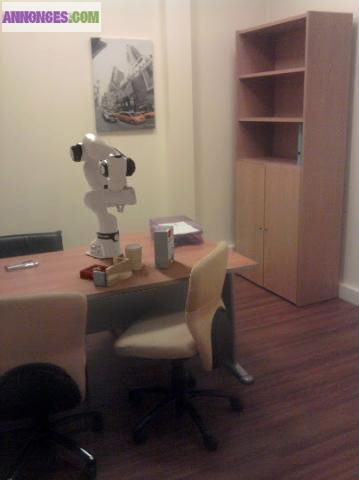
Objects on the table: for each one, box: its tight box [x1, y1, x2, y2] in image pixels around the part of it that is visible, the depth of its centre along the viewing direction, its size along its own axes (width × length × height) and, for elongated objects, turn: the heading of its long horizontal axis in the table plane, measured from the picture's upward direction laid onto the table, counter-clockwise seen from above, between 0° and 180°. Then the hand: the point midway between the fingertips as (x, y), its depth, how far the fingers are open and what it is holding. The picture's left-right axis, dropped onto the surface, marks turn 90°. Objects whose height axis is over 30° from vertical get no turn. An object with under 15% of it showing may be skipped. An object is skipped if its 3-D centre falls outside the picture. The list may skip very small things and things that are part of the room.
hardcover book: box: [79, 263, 109, 281], centre depth 235 cm, size 12×21×4 cm, turn 57°
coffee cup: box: [124, 243, 143, 271], centre depth 246 cm, size 9×9×12 cm
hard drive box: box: [153, 224, 175, 269], centre depth 250 cm, size 16×8×20 cm, turn 168°
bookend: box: [93, 271, 108, 288], centre depth 223 cm, size 7×2×7 cm, turn 58°
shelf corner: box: [106, 256, 133, 288], centre depth 230 cm, size 10×18×9 cm, turn 148°
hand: (120, 212), depth 241 cm, fingers closed
